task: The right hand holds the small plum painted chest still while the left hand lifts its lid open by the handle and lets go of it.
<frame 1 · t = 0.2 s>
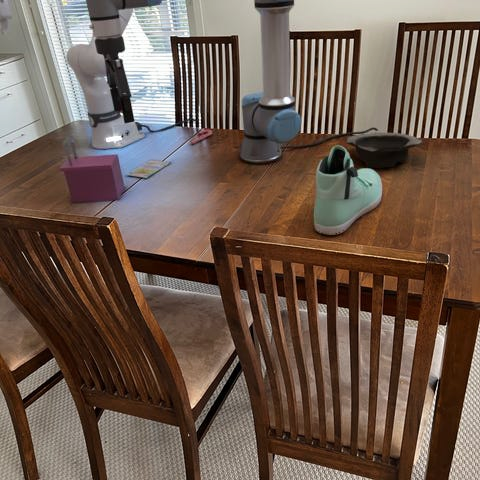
left hand: (0, 33, 160), 48 cm above the table, tool pointing down, fingers open, 8 cm apart
right hand: (124, 116, 137), 28 cm above the table, tool pointing down, fingers open, 13 cm apart
lid: (87, 151, 151), point 15 cm above the table, hinge at 0.0°
sneaker: (348, 208, 139), on the table
baking ingredient package: (149, 169, 175), on the table
pink flat elongated piece: (200, 138, 200), on the table
chest: (99, 195, 159), on the table
stone bowl: (380, 159, 168), on the table
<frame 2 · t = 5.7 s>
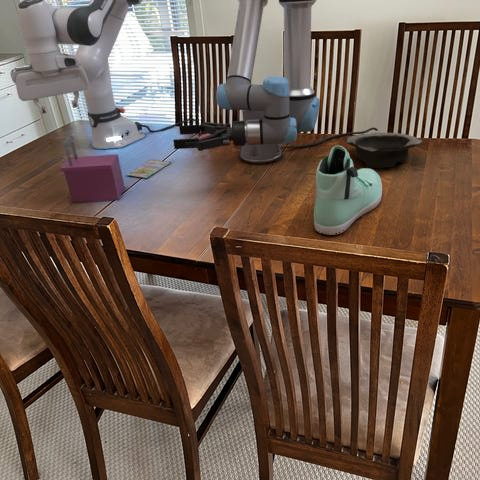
left hand: (59, 110, 144), 29 cm above the table, tool pointing down, fingers open, 8 cm apart
right hand: (176, 137, 148), 18 cm above the table, tool horizontal, fingers open, 13 cm apart
nothing on the table moved.
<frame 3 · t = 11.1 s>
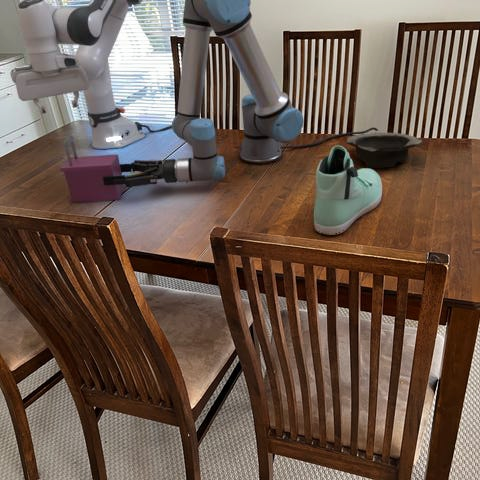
left hand: (59, 110, 144), 29 cm above the table, tool pointing down, fingers open, 8 cm apart
right hand: (107, 174, 155), 7 cm above the table, tool horizontal, fingers closed on chest, 9 cm apart
chest: (99, 195, 159), on the table, touching right hand
everything else where it was.
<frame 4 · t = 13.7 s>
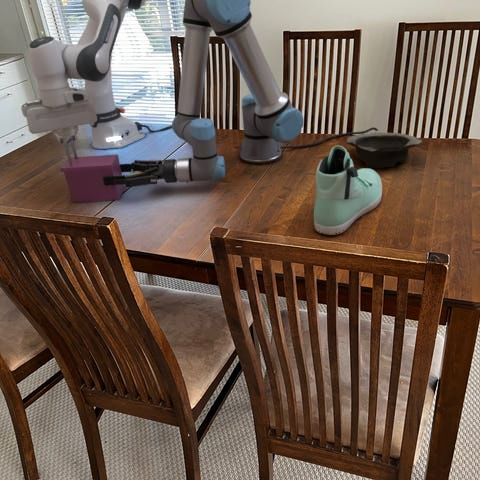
left hand: (68, 141, 149), 19 cm above the table, tool pointing down, fingers closed on lid, 3 cm apart
right hand: (108, 174, 155), 7 cm above the table, tool horizontal, fingers closed on chest, 9 cm apart
lid: (87, 151, 151), point 15 cm above the table, hinge at -0.1°, touching left hand
chest: (99, 195, 159), on the table, touching right hand
everything else where it was.
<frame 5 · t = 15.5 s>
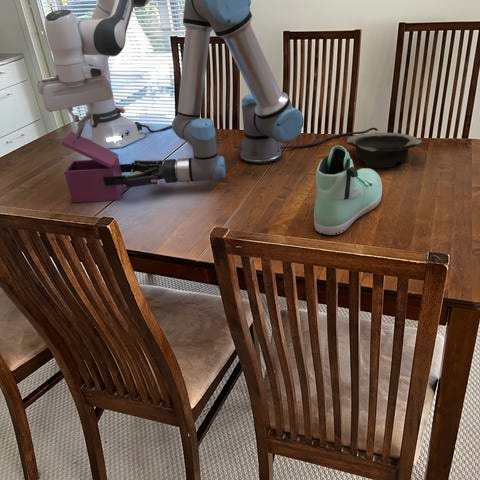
left hand: (83, 119, 146), 25 cm above the table, tool pointing down, fingers closed on lid, 3 cm apart
right hand: (108, 175, 155), 7 cm above the table, tool horizontal, fingers closed on chest, 9 cm apart
lid: (95, 139, 149), point 19 cm above the table, hinge at 32.7°, touching left hand
chest: (99, 195, 159), on the table, touching right hand
everything else where it was.
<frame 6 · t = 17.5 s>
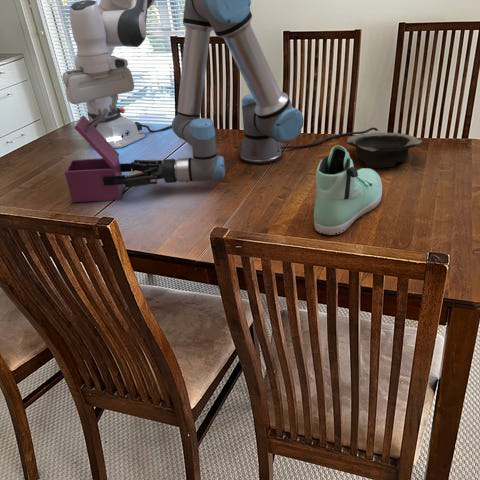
left hand: (105, 112, 144), 27 cm above the table, tool pointing down, fingers open, 4 cm apart
right hand: (107, 174, 155), 7 cm above the table, tool horizontal, fingers closed on chest, 9 cm apart
lid: (107, 134, 147), point 20 cm above the table, hinge at 57.6°, touching left hand
chest: (98, 194, 158), on the table, touching right hand
everything else where it was.
when the right hand's fingers open (7 cm above the table, at t = 21.5 s): chest stays where it is, on the table.
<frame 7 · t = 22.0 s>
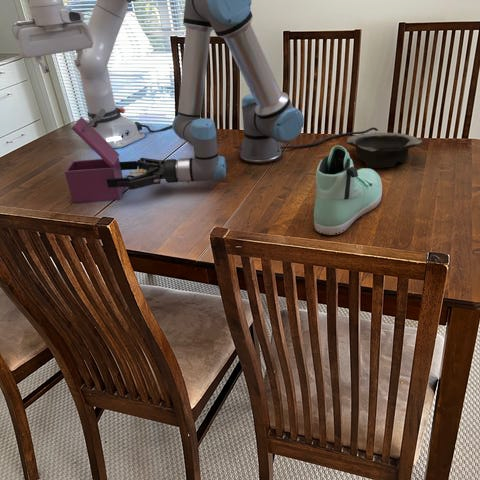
left hand: (62, 69, 138), 40 cm above the table, tool pointing down, fingers open, 8 cm apart
right hand: (112, 174, 155), 7 cm above the table, tool horizontal, fingers open, 13 cm apart
lid: (104, 134, 148), point 20 cm above the table, hinge at 55.2°
chest: (99, 194, 159), on the table
everything else where it was.
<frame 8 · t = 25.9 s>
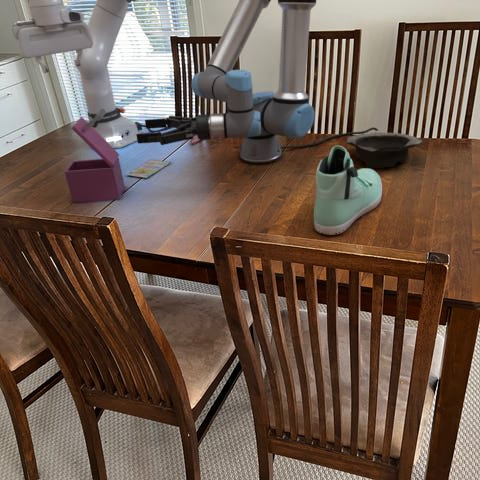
left hand: (62, 69, 138), 40 cm above the table, tool pointing down, fingers open, 8 cm apart
right hand: (141, 131, 147), 21 cm above the table, tool horizontal, fingers open, 13 cm apart
nothing on the table moved.
at the end: lid at +55° (first picture: +0°); the left hand is holding nothing; the right hand is holding nothing; chest tilted 0°; chest never tilted more than 4° during the clip; chest moved 0.2 cm from its start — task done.
